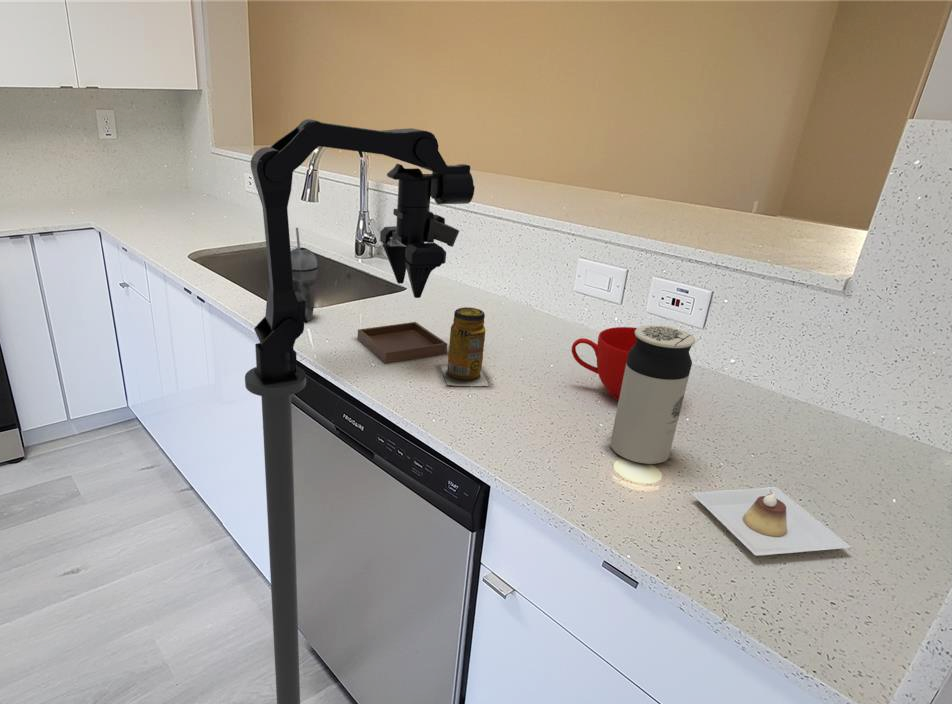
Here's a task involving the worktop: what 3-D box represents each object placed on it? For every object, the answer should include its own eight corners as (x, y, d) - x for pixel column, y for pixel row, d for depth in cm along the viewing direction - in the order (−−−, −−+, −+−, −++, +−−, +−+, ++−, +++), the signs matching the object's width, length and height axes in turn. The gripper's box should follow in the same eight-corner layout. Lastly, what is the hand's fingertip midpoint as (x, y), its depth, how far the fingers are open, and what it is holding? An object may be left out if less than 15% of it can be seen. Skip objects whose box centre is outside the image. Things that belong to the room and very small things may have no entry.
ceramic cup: (569, 370, 119) (577, 319, 115) (668, 386, 114) (680, 333, 109) (562, 399, 108) (570, 344, 104) (671, 418, 102) (685, 361, 98)
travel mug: (598, 447, 94) (621, 331, 87) (629, 431, 98) (653, 320, 91) (649, 472, 88) (677, 350, 81) (679, 454, 93) (709, 337, 85)
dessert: (773, 493, 84) (784, 462, 82) (848, 555, 73) (862, 520, 71) (688, 499, 82) (697, 467, 80) (752, 563, 72) (764, 528, 70)
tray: (385, 363, 120) (385, 352, 119) (357, 339, 131) (357, 329, 130) (446, 353, 125) (447, 343, 124) (414, 331, 136) (415, 321, 135)
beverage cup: (325, 317, 143) (325, 226, 135) (305, 326, 137) (303, 232, 129) (299, 310, 146) (297, 222, 138) (278, 319, 141) (275, 227, 133)
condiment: (479, 367, 120) (485, 305, 115) (488, 386, 112) (495, 321, 107) (440, 366, 119) (444, 305, 114) (446, 386, 112) (452, 321, 107)
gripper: (478, 213, 108) (469, 303, 114) (435, 195, 124) (430, 274, 130) (415, 215, 105) (410, 307, 111) (380, 196, 121) (377, 277, 127)
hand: (408, 290), depth 120 cm, fingers open, 9 cm apart
